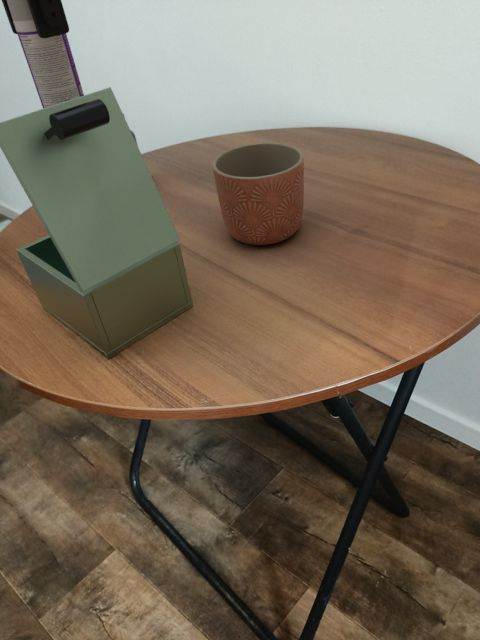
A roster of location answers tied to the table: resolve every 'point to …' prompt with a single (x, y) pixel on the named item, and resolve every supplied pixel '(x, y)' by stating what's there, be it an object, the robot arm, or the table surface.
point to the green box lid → (88, 185)
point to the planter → (260, 191)
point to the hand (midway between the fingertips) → (40, 31)
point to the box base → (110, 296)
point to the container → (46, 59)
